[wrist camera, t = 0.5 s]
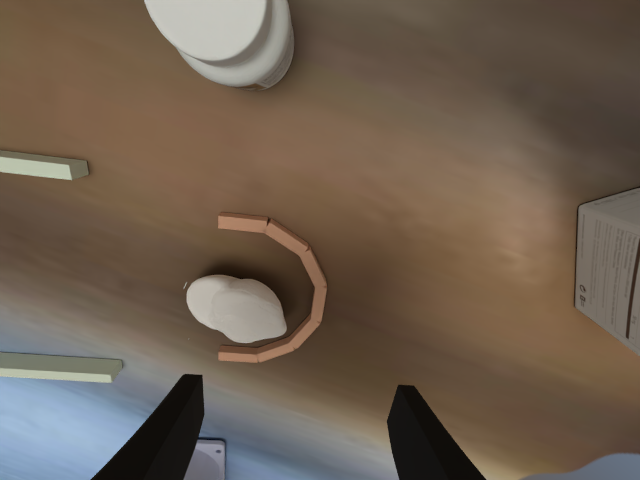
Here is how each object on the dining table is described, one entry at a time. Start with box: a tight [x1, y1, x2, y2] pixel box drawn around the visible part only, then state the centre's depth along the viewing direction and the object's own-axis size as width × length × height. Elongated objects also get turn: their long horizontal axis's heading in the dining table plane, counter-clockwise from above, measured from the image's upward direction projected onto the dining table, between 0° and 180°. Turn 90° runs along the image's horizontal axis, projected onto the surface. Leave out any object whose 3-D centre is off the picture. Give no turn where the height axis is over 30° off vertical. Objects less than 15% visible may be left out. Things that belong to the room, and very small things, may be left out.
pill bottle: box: [144, 0, 294, 91], centre depth 12 cm, size 4×4×8 cm
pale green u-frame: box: [0, 150, 122, 383], centre depth 19 cm, size 16×12×1 cm
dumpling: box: [183, 275, 287, 343], centre depth 19 cm, size 7×5×4 cm
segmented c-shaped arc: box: [218, 212, 327, 363], centre depth 21 cm, size 12×7×1 cm, turn 172°
